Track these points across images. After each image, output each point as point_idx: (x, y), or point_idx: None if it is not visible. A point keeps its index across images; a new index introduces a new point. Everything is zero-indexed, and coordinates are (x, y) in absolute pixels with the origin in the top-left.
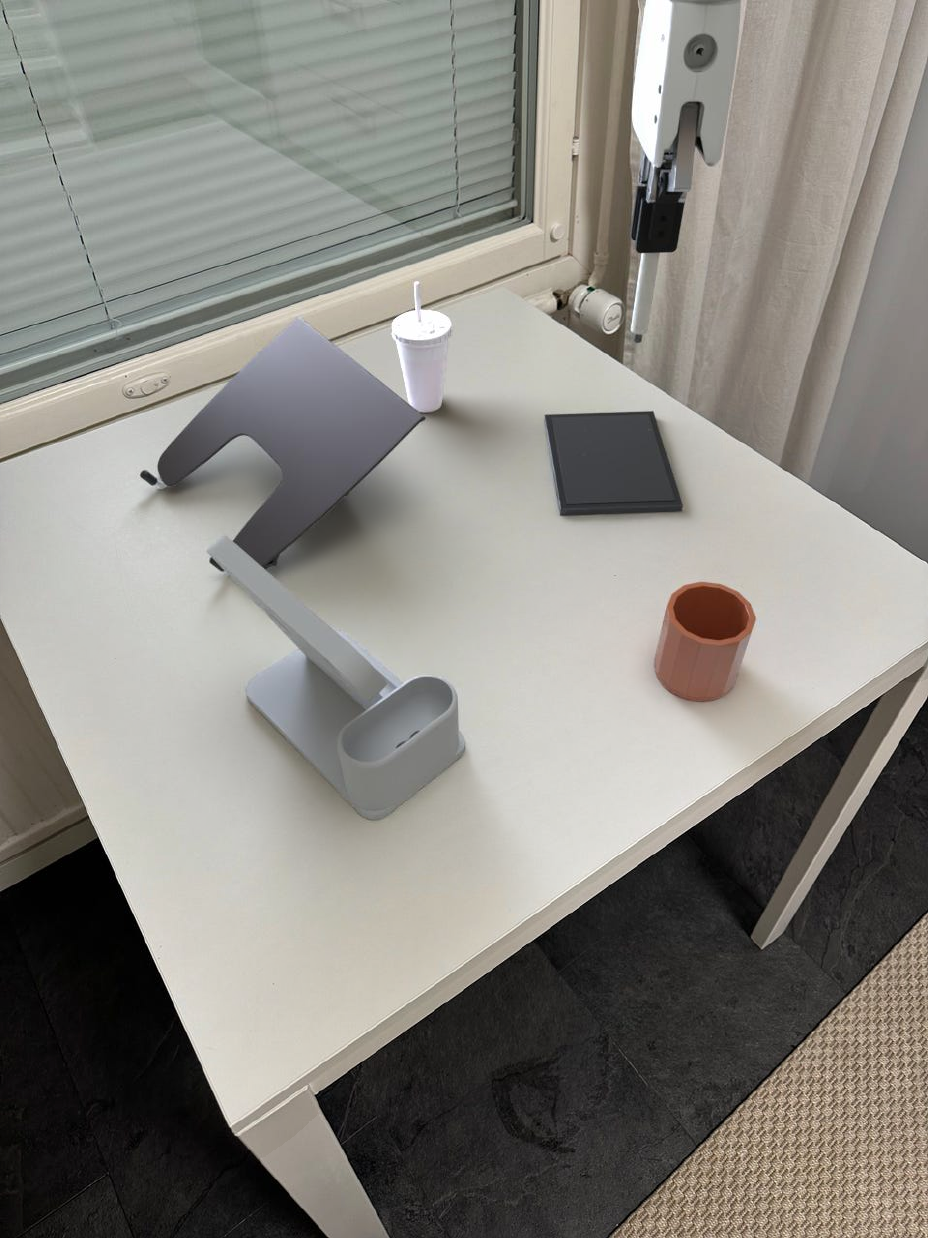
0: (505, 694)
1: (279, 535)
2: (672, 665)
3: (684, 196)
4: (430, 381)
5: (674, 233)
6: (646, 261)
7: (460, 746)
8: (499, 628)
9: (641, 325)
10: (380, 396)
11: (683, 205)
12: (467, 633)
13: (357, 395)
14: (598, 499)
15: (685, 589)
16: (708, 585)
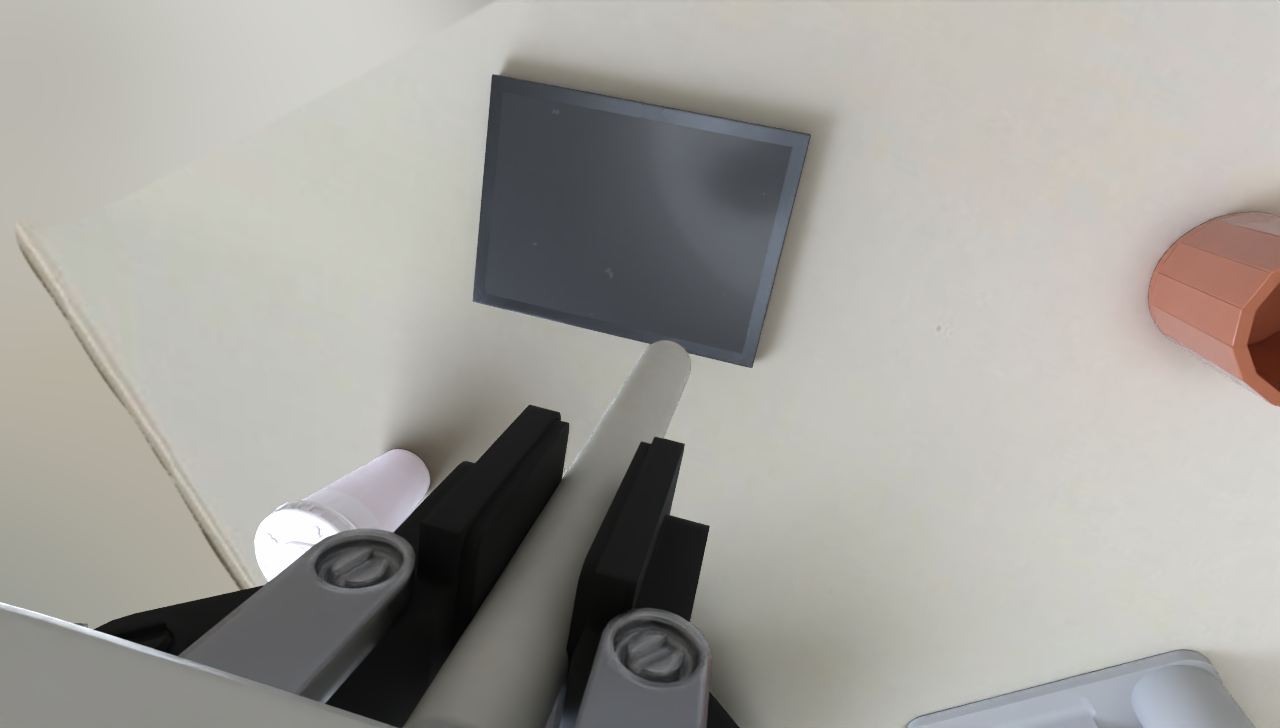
0: (1123, 574)
1: None
2: None
3: (708, 675)
4: (402, 508)
5: (668, 499)
6: None
7: (1207, 668)
8: (984, 538)
9: (686, 381)
10: (552, 710)
11: (641, 563)
12: (975, 581)
13: None
14: (745, 294)
15: (1247, 350)
16: (1262, 300)
